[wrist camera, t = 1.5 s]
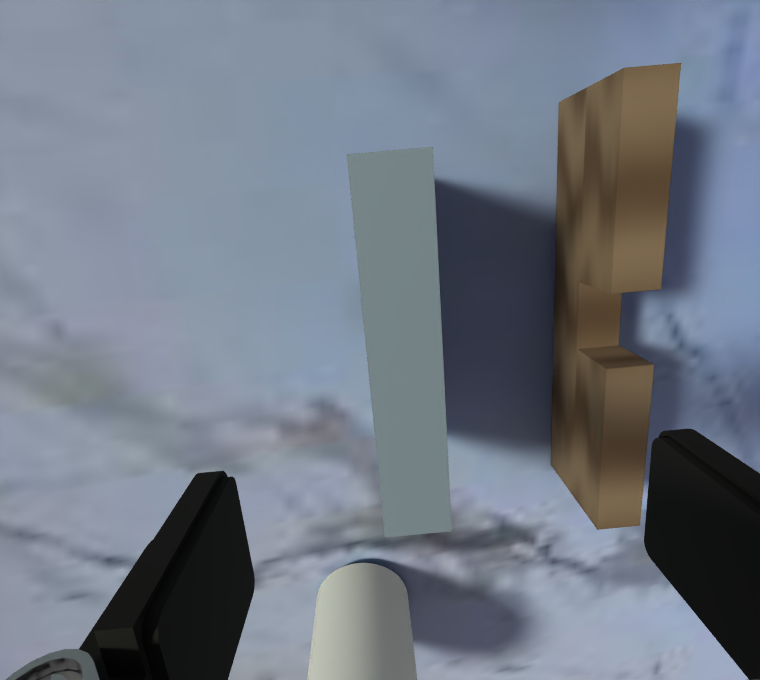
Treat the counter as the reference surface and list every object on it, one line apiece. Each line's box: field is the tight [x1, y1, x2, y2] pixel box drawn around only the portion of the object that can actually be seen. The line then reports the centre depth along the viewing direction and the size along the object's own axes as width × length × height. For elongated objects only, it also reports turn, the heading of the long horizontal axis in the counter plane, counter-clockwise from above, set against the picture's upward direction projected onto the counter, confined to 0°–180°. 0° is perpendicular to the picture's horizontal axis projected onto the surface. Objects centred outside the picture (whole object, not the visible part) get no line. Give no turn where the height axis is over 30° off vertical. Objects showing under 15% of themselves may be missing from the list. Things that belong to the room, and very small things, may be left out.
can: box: [307, 563, 417, 680], centre depth 31 cm, size 7×7×12 cm
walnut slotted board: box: [551, 63, 681, 530], centre depth 27 cm, size 24×2×7 cm, turn 5°
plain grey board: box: [347, 147, 452, 537], centre depth 24 cm, size 16×3×12 cm, turn 5°
